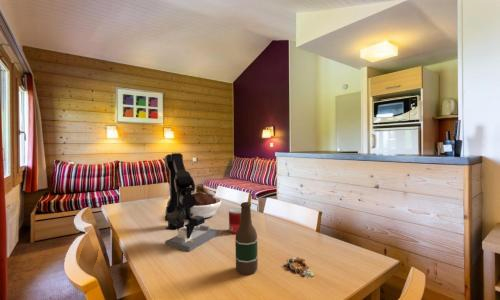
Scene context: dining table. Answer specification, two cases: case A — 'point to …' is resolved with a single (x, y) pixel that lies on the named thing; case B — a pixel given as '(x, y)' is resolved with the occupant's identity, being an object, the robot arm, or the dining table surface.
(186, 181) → the robot arm
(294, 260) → the pastry
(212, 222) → the dining table surface
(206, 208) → the white serving bowl
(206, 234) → the console plate
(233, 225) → the canned food
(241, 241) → the beer bottle
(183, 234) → the fader tab
